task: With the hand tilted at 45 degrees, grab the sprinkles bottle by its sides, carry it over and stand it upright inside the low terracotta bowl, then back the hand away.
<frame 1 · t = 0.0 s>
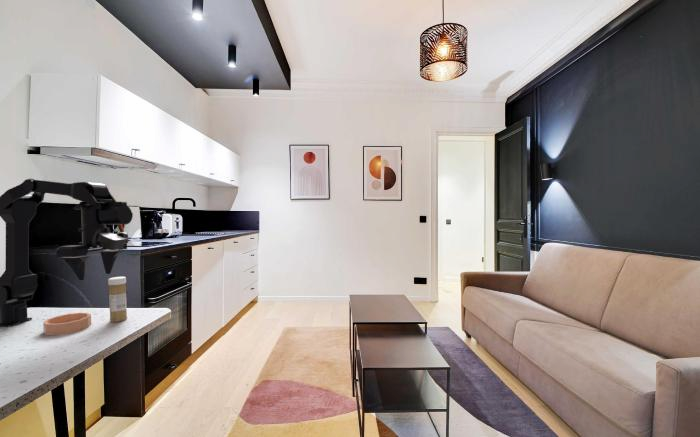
hand: (95, 276, 98), 15 cm above the table, tool pointing down, fingers open, 9 cm apart
sprinkles bottle: (118, 320, 104), on the table
terracotta bowl: (68, 328, 96), on the table
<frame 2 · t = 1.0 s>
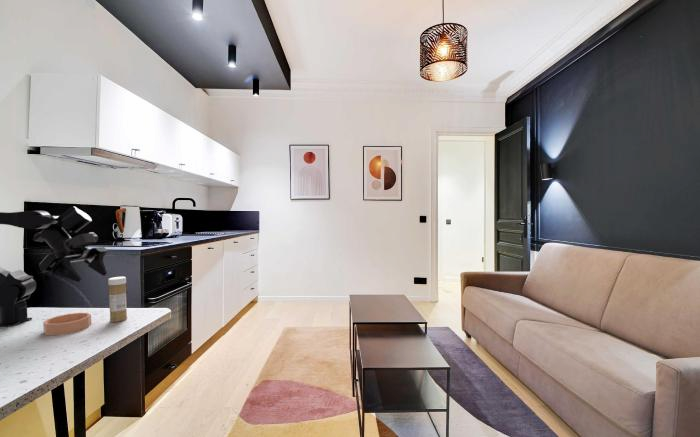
hand: (93, 277, 104), 13 cm above the table, tool tilted 45°, fingers open, 9 cm apart
nothing on the table moved.
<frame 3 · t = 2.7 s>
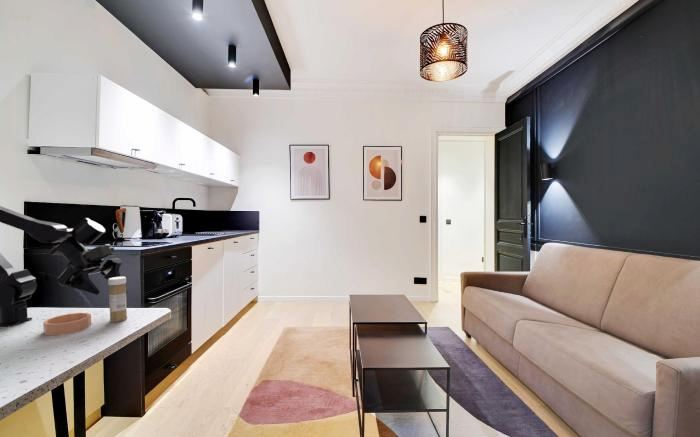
hand: (111, 289, 104), 10 cm above the table, tool tilted 45°, fingers open, 9 cm apart
nothing on the table moved.
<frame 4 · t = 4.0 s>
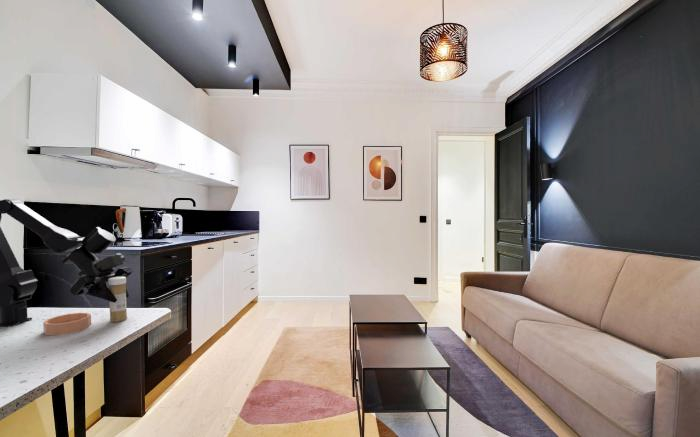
hand: (121, 299, 103), 7 cm above the table, tool tilted 45°, fingers closed on sprinkles bottle, 4 cm apart
sprinkles bottle: (118, 320, 104), on the table, touching gripper
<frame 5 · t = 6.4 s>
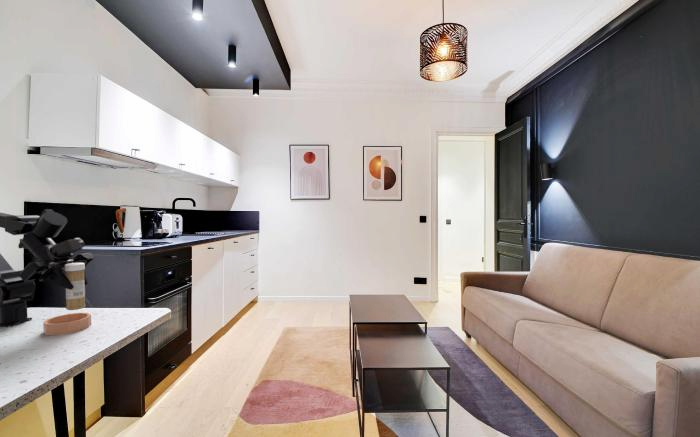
hand: (79, 286, 97), 12 cm above the table, tool tilted 45°, fingers closed on sprinkles bottle, 4 cm apart
sprinkles bottle: (75, 309, 98), point 5 cm above the table, touching gripper
when the fingers open (8 cm above the table, at t = 8.4 s): sprinkles bottle stays where it is, resting on terracotta bowl.
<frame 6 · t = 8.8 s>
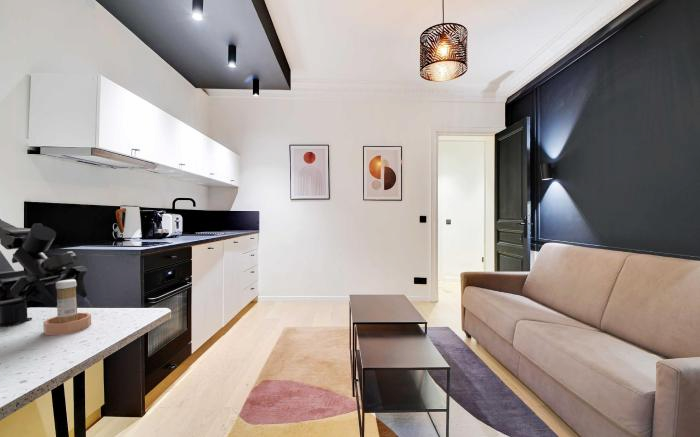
hand: (71, 300, 96), 8 cm above the table, tool tilted 45°, fingers open, 9 cm apart
sprinkles bottle: (67, 326, 97), resting on terracotta bowl
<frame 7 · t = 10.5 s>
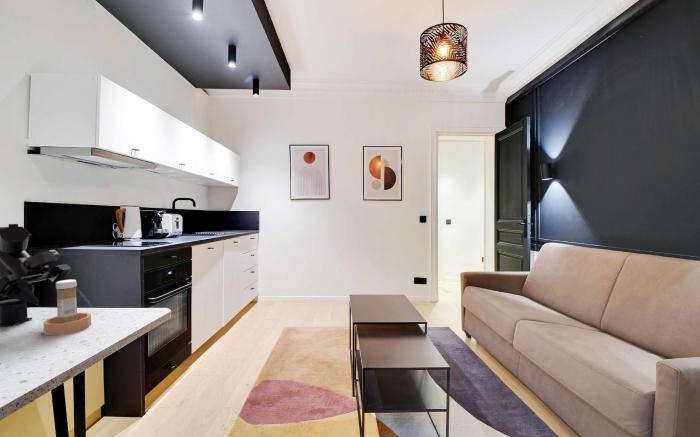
hand: (54, 299, 97), 9 cm above the table, tool tilted 45°, fingers open, 9 cm apart
nothing on the table moved.
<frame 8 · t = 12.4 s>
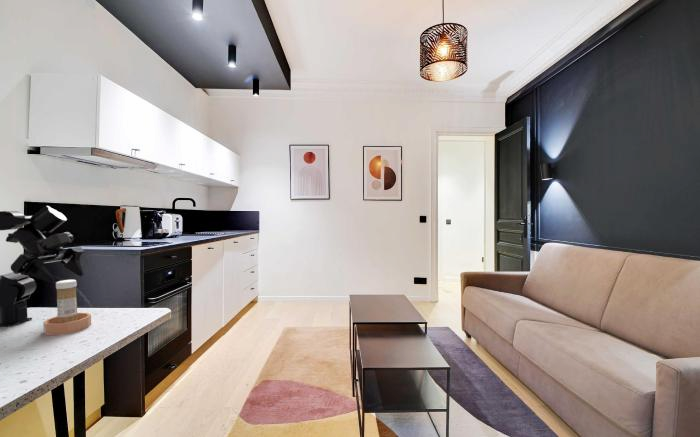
hand: (68, 278, 101), 14 cm above the table, tool tilted 45°, fingers open, 9 cm apart
nothing on the table moved.
at the end: sprinkles bottle 0.2 cm off-centre on the terracotta bowl, point 0.4 cm above the terracotta bowl's base; sprinkles bottle tilted 0°; the gripper is holding nothing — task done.
